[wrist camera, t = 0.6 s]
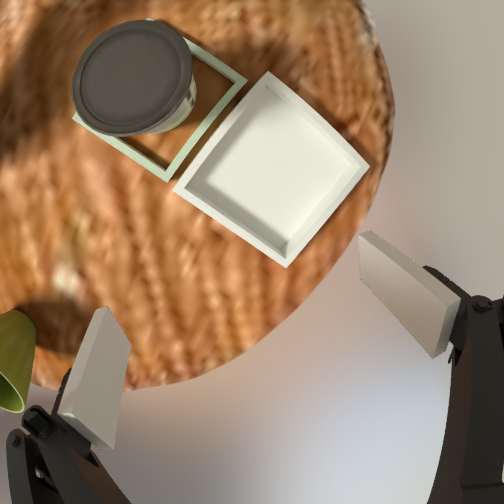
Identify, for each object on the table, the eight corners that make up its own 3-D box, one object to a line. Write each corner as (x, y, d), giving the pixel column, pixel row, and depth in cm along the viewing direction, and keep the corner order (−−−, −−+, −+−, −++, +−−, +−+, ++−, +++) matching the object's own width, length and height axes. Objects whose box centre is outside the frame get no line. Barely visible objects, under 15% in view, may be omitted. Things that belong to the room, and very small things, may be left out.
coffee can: (103, 97, 28) (51, 83, 15) (165, 44, 27) (145, -1, 14) (150, 151, 32) (118, 163, 20) (213, 99, 31) (220, 77, 18)
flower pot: (65, 352, 42) (40, 417, 28) (19, 355, 41) (-8, 409, 27) (28, 286, 36) (-17, 346, 22) (-15, 297, 35) (-55, 347, 20)
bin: (175, 185, 35) (172, 190, 31) (262, 76, 31) (268, 70, 27) (279, 257, 41) (286, 268, 38) (357, 163, 37) (370, 166, 34)
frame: (76, 119, 28) (71, 118, 27) (149, 21, 25) (147, 17, 23) (168, 180, 34) (167, 182, 33) (246, 82, 31) (247, 80, 29)
